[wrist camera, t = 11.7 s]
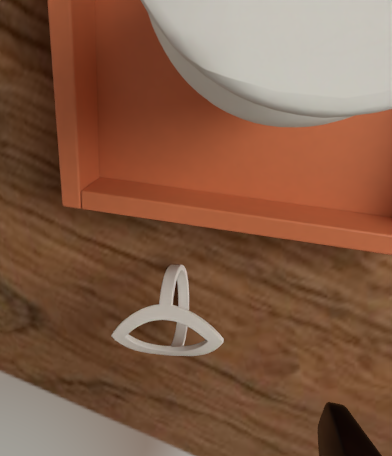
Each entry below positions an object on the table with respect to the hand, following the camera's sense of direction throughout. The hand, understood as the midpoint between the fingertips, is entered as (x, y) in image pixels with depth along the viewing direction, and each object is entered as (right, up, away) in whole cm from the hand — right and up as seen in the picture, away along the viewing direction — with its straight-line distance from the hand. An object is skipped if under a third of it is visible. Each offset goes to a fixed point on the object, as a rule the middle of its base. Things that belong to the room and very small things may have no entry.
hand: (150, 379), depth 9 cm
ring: (+1, +2, +4) cm, 5 cm away
